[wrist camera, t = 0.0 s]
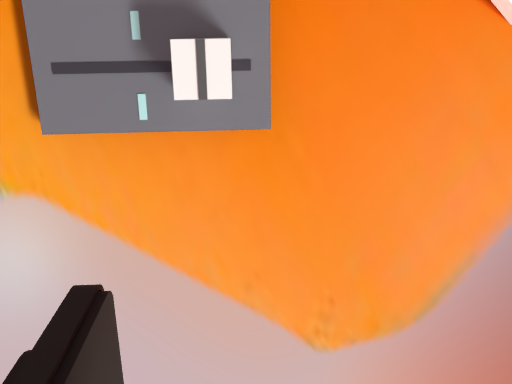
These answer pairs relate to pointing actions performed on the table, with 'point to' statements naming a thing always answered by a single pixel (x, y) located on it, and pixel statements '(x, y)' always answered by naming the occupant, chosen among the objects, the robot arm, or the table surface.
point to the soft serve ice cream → (504, 8)
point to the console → (143, 64)
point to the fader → (201, 68)
